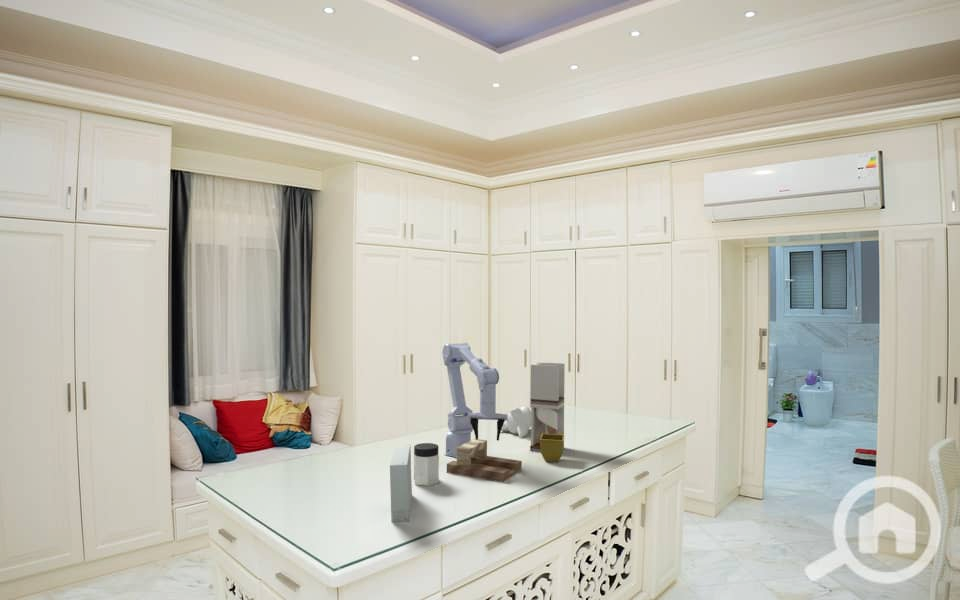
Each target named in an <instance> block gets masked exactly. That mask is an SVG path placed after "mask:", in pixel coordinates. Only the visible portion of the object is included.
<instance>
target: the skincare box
mask: <svg viewBox="0 0 960 600" xmlns="http://www.w3.org/2000/svg"><path fill="white" fill-rule="evenodd" d="M411 449H412V448H411V444H395V445H394V448H393V451H392V454H391V455H392V456H391V460H390V463H389V479H390V480H389V481H390V482H389V484H390V489H389V490H390V512H391V513H390V515H391V518H390V519H391V521H390V522H391V523H394V522H395V523H397V522H399V523H400V522H409V521H410V517H411V506H412V496H413V484H412V454H411V453H412V451H411Z"/></svg>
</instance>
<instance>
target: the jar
mask: <svg viewBox="0 0 960 600" xmlns="http://www.w3.org/2000/svg"><path fill="white" fill-rule="evenodd" d="M439 461H440V457H439V445H438V444H436V443H433V442H432V443H431V442H424V443H417V444H415V445H414V448H413V482H414V484H415V485H417V486H425V487H428V486H433V485H436V484H439V482H440V481H439V480H440V479H439V476H440V475H439V473H440V472H439V471H440V470H439V469H440V467H439V466H440V462H439Z"/></svg>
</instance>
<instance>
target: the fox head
mask: <svg viewBox="0 0 960 600" xmlns="http://www.w3.org/2000/svg"><path fill="white" fill-rule="evenodd" d="M519 406H520V405H517V406H516V407H514V408H512V409H511V411H509V414H508V420H507V421H505V422H504V424H503V426H502V429H501V432H502V433H503V432H504V433H506V432H507V433H508V432H509V433H512V434H515V435H518V437H519V439H522V438H524V437H526V436H527V435H528V433H529V430H530V429H531V408H529V407H527V406H522V407H520V408H519Z"/></svg>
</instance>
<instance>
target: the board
mask: <svg viewBox="0 0 960 600" xmlns="http://www.w3.org/2000/svg"><path fill="white" fill-rule="evenodd" d="M522 462H523V461H522V460H519V459H511V458H504V457H497V456H491V455H487V457H479V456H473V454H472V455H471V466H463V465H457V460H452V461H450V462H448V463H446V473H449V474H454V475H459V476H460V475H461V476H467V477H473V478H477V479H483V480H484V479H485V480H490V481H495V480H496V481H495V482H501V481H502V483H504V482H505V480H506V481H507V480H508V479H510V478H511V477H513V476H514V475H515V473H516V474H517V473H518V472H520V471H521V470H522V465H523V463H522ZM512 475H513V476H512Z"/></svg>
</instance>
